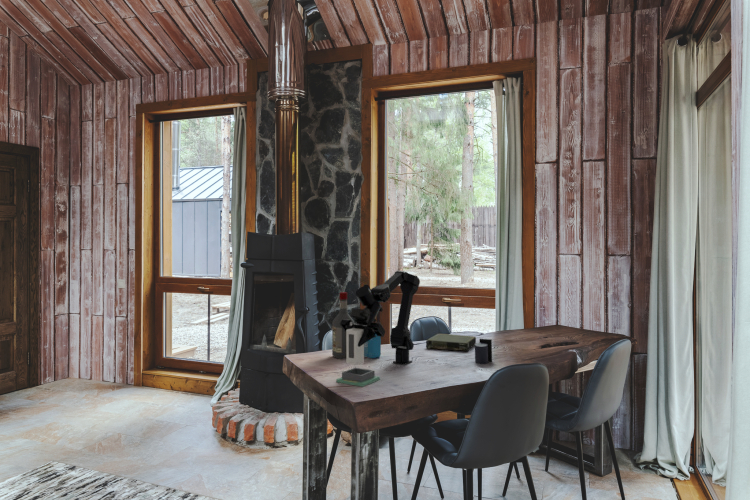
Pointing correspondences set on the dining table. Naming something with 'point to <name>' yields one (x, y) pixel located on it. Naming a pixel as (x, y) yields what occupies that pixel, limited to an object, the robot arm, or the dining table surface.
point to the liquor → (340, 329)
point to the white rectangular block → (354, 347)
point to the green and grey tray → (358, 377)
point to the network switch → (451, 342)
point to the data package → (373, 347)
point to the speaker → (483, 351)
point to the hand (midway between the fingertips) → (353, 345)
